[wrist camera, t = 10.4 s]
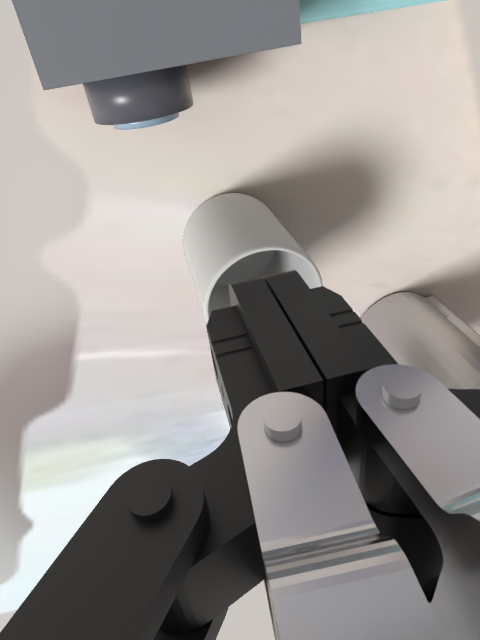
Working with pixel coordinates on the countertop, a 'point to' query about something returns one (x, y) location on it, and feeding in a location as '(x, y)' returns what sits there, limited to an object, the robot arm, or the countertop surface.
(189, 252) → the mug
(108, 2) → the camera box
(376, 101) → the countertop surface
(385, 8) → the side door
